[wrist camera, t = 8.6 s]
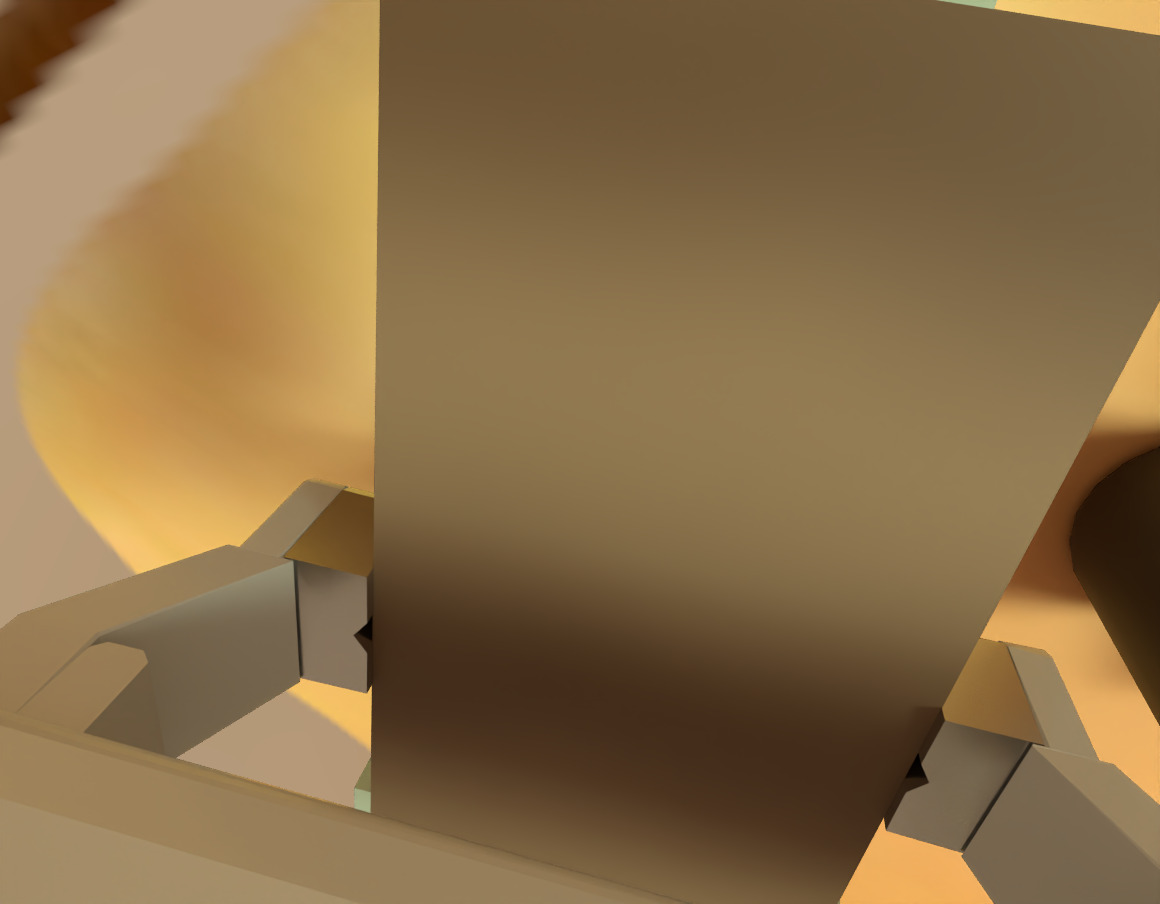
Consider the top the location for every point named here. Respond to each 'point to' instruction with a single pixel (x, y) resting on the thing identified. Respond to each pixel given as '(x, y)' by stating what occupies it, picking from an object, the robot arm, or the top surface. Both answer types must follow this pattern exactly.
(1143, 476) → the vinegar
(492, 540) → the plank
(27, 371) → the top surface
